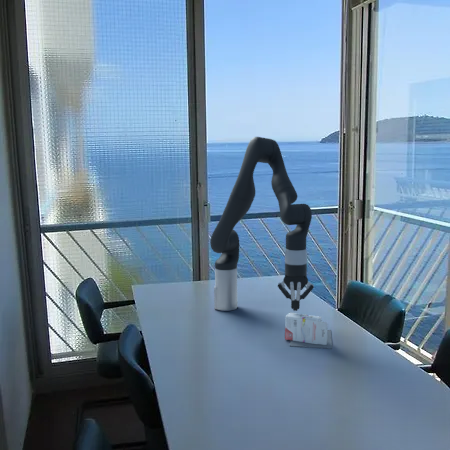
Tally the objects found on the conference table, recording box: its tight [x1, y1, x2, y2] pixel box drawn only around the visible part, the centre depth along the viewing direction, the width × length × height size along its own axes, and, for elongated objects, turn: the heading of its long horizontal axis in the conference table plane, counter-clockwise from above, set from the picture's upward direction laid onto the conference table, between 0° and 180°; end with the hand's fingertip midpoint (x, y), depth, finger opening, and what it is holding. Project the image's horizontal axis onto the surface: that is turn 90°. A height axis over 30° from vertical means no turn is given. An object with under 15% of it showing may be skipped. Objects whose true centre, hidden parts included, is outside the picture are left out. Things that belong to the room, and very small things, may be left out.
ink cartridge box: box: [284, 312, 329, 345], centre depth 172 cm, size 9×5×15 cm
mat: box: [289, 329, 333, 350], centre depth 175 cm, size 14×17×1 cm
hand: (295, 310), depth 175 cm, fingers closed
